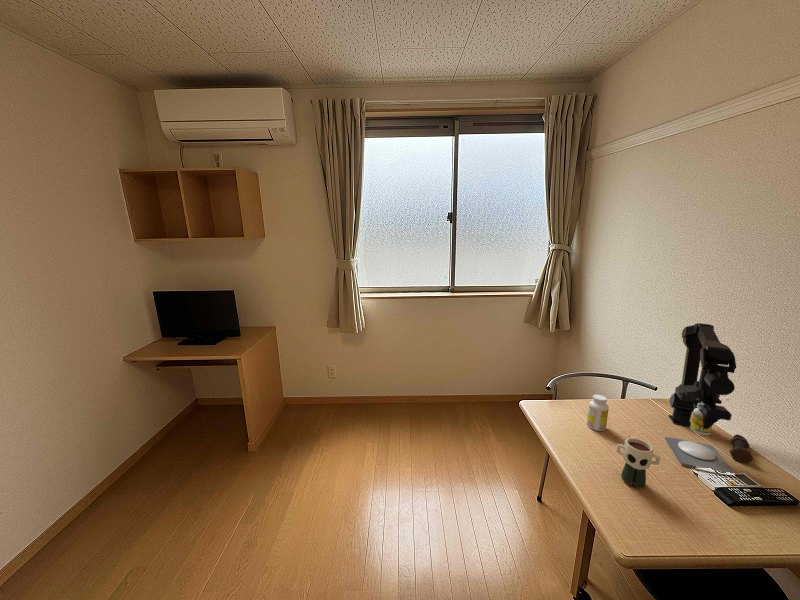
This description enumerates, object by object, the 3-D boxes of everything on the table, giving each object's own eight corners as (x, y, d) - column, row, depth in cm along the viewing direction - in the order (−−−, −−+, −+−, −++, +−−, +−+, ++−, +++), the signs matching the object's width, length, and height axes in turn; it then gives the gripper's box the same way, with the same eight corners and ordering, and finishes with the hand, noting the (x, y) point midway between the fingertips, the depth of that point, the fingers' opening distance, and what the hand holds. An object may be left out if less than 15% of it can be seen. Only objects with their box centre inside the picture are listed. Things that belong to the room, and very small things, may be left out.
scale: (665, 438, 127) (665, 434, 127) (712, 448, 122) (712, 443, 122) (682, 466, 112) (682, 462, 112) (736, 478, 107) (737, 473, 107)
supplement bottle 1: (606, 425, 136) (610, 396, 133) (605, 433, 130) (610, 403, 128) (587, 420, 139) (591, 391, 137) (585, 428, 134) (589, 398, 131)
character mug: (611, 481, 105) (617, 444, 103) (612, 468, 111) (618, 432, 109) (655, 496, 100) (662, 457, 97) (653, 481, 105) (660, 444, 103)
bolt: (740, 448, 126) (742, 467, 115) (725, 437, 128) (725, 454, 117) (754, 439, 123) (757, 457, 112) (738, 428, 125) (740, 445, 114)
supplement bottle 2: (714, 434, 115) (720, 408, 113) (701, 436, 114) (707, 410, 112) (698, 425, 120) (703, 401, 118) (686, 427, 119) (691, 402, 117)
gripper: (671, 368, 125) (664, 406, 128) (692, 390, 108) (683, 433, 111) (709, 373, 121) (701, 412, 124) (737, 396, 104) (726, 441, 107)
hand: (701, 424), depth 117 cm, fingers closed on supplement bottle 2, 5 cm apart
